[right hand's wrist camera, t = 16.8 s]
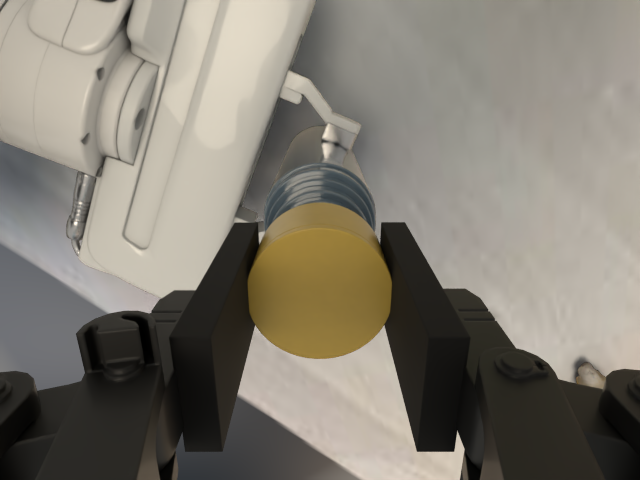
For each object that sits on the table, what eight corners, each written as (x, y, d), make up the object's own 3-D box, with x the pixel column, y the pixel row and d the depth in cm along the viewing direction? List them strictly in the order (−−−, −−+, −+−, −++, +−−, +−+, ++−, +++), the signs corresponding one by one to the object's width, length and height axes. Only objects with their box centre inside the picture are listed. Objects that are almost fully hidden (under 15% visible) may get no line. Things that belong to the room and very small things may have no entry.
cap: (237, 226, 14) (221, 256, 12) (359, 184, 13) (367, 207, 11) (284, 330, 15) (278, 375, 13) (396, 295, 15) (410, 335, 12)
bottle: (353, 124, 30) (407, 206, 12) (353, 191, 32) (399, 357, 13) (284, 126, 31) (228, 210, 12) (288, 193, 32) (243, 360, 13)
